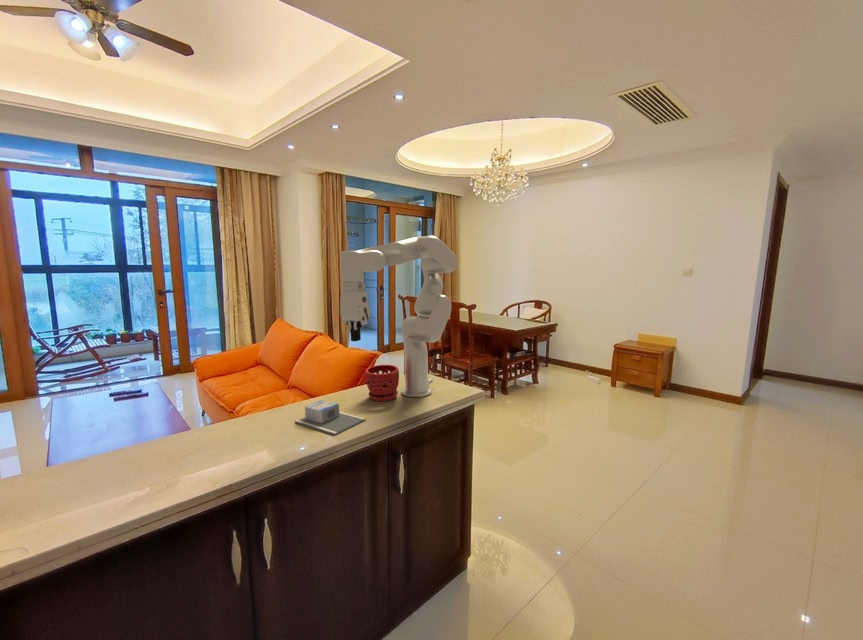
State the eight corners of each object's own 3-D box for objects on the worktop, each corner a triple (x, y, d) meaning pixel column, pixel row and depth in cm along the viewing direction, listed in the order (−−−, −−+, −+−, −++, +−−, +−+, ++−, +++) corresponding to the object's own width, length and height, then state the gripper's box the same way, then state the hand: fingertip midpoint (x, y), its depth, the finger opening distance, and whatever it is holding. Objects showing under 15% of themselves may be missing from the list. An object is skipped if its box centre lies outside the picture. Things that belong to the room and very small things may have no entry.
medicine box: (321, 411, 128) (304, 406, 133) (322, 424, 128) (304, 418, 133) (339, 404, 134) (322, 399, 139) (339, 416, 135) (322, 411, 140)
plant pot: (364, 394, 160) (363, 366, 158) (395, 391, 163) (395, 363, 162) (369, 405, 147) (367, 374, 146) (402, 401, 151) (402, 371, 149)
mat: (327, 409, 143) (327, 408, 143) (365, 420, 132) (365, 418, 132) (295, 422, 131) (295, 420, 131) (334, 435, 121) (334, 433, 121)
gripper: (377, 287, 131) (379, 340, 134) (345, 286, 139) (348, 336, 142) (361, 288, 125) (364, 344, 127) (329, 288, 133) (332, 340, 135)
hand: (355, 340), depth 134 cm, fingers closed
